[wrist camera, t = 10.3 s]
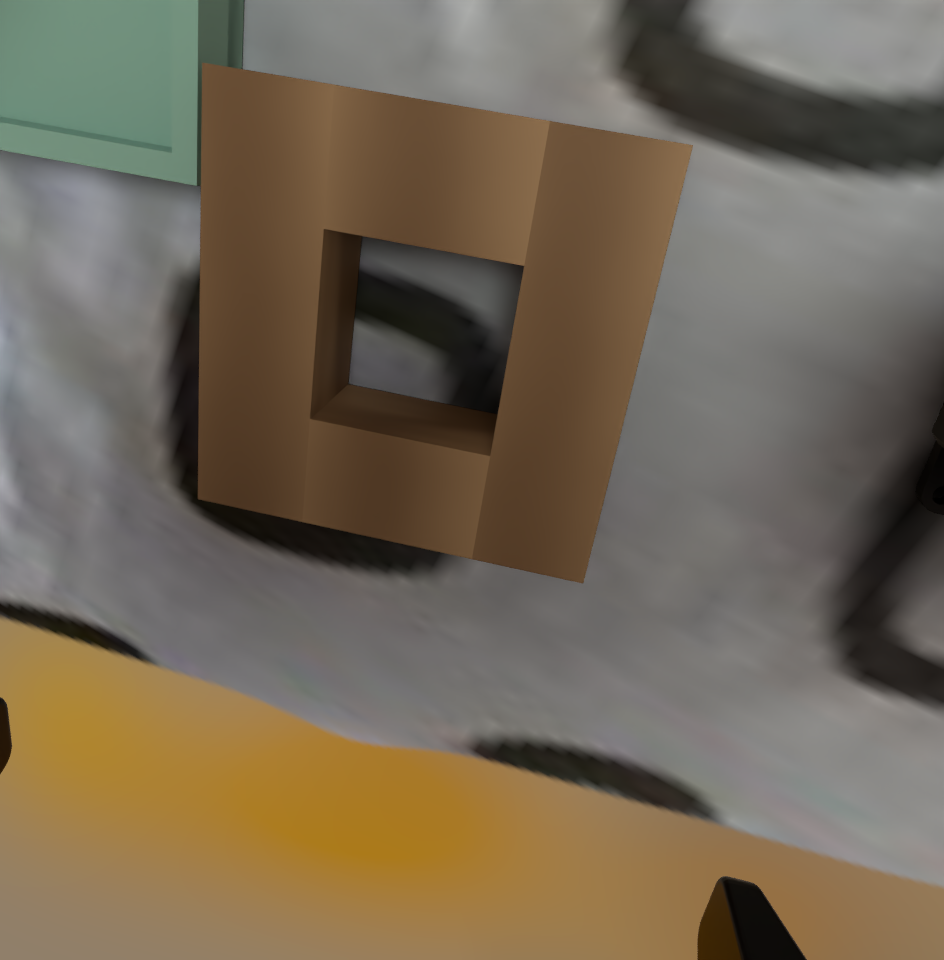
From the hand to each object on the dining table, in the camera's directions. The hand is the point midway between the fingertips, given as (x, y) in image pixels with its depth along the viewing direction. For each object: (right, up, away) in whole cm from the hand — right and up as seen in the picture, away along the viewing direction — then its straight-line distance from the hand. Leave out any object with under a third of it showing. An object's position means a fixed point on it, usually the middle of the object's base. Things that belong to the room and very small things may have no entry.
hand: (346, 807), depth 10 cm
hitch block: (+1, +8, +11) cm, 13 cm away
